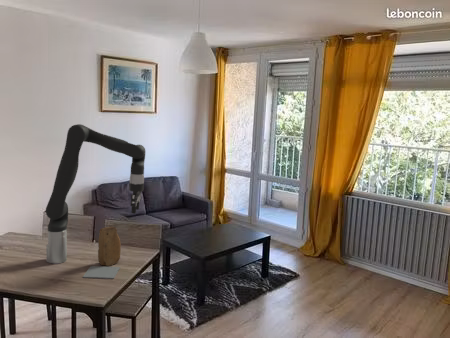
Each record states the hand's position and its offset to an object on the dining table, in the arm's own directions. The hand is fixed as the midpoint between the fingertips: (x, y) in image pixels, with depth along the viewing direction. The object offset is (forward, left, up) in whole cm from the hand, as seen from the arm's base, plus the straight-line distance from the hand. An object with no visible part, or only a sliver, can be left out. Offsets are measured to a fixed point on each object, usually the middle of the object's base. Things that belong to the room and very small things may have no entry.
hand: (135, 211), depth 203 cm
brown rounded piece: (-12, -4, -29) cm, 32 cm away
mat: (-13, -16, -29) cm, 35 cm away
